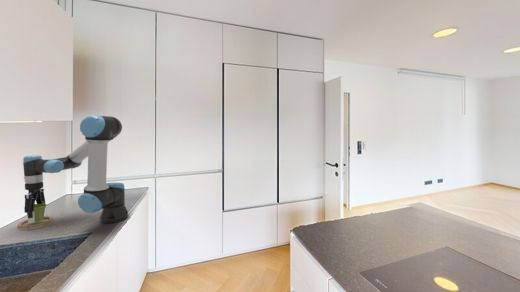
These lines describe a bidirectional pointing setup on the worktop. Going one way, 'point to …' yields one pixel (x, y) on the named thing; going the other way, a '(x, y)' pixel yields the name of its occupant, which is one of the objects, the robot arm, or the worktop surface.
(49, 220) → the round wooden tray
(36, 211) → the plant pot
